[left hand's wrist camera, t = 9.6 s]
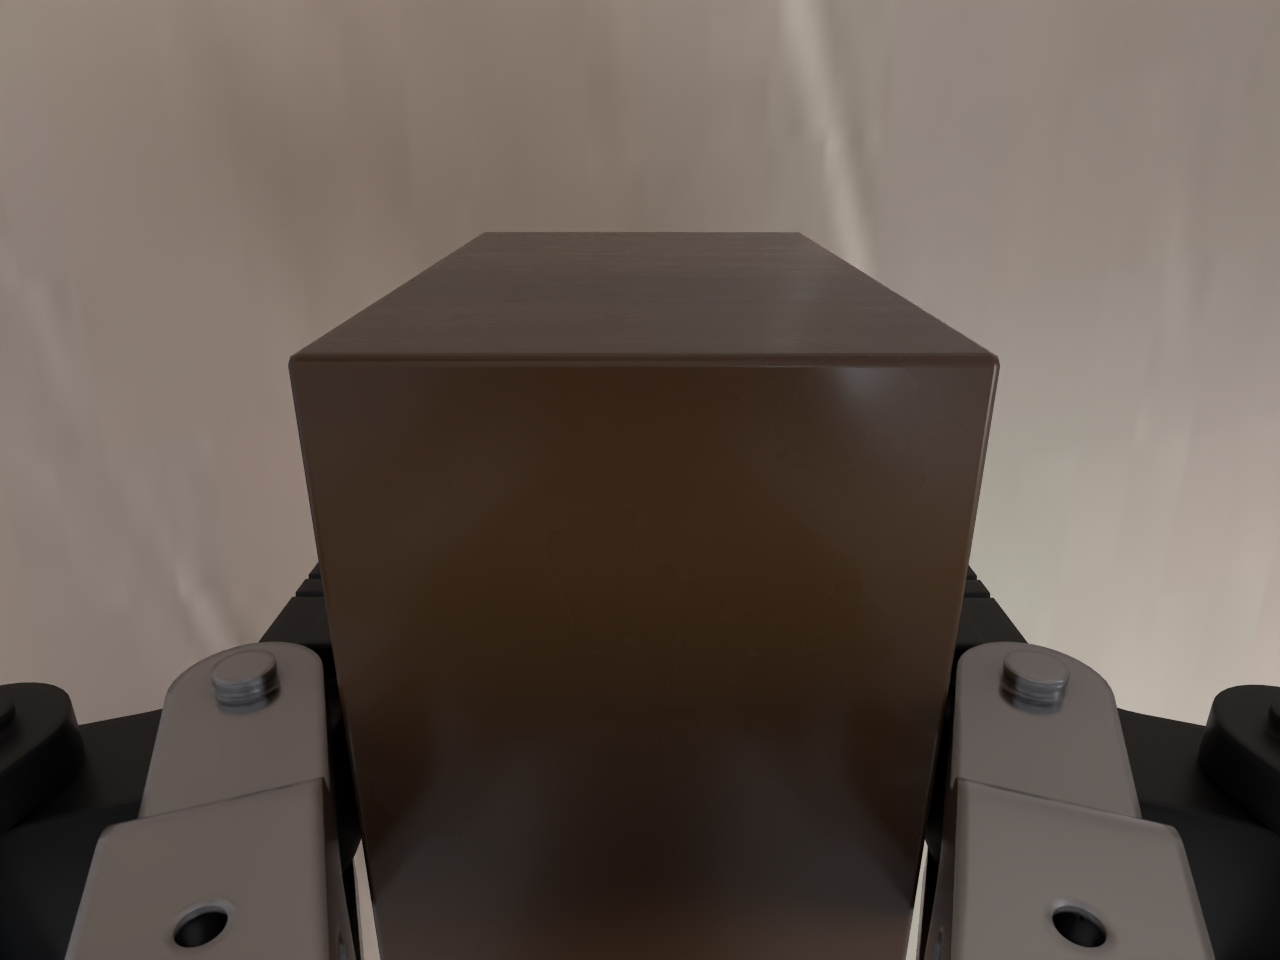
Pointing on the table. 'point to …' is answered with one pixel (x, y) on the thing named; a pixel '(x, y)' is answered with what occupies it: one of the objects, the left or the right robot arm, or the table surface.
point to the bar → (643, 593)
